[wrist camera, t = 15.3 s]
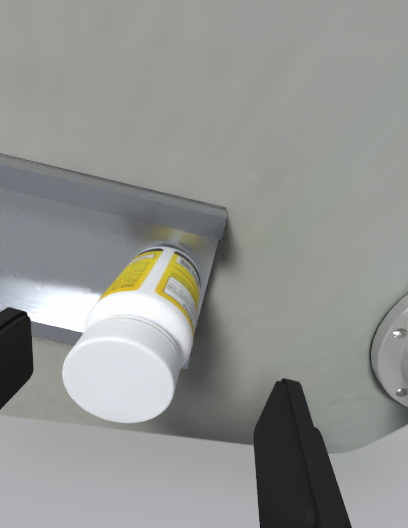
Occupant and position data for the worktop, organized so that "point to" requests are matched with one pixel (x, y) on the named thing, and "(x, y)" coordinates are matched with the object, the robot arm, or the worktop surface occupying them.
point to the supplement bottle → (136, 339)
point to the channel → (87, 240)
